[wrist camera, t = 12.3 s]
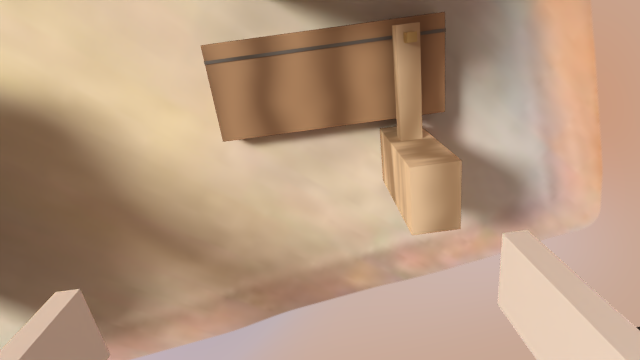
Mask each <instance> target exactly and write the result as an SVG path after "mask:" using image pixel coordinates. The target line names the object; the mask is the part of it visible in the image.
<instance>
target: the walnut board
mask: <svg viewBox="0 0 640 360" xmlns="http://www.w3.org/2000/svg"><path fill="white" fill-rule="evenodd" d="M416 22H420V49H421V93H422V115H425V114H432V113H439V112H445V12H441V13H433V14H425V15H418V16H411V17H404V18H396V19H389V20H382V21H375V22H367V23H360V24H353V25H346V26H338V27H331V28H324V29H317V30H309V31H302V32H295V33H288V34H280V35H273V36H266V37H259V38H251V39H244V40H237V41H230V42H222V43H215V44H208V45H202V46H201V49H202V54H203V58H204V63H205V66H206V71H207V75H208V79H209V83H210V88H211V92H212V96H213V100H214V105H215V109H216V113H217V117H218V122H219V126H220V130H221V134H222V139H223V142H225V141H232V140H240V139H247V138H254V137H262V136H269V135H277V134H284V133H291V132H299V131H306V130H314V129H321V128H328V127H336V126H343V125H351V124H358V123H365V122H373V121H380V120H388V119H395V118H396V99H395V78H394V58H393V38H392V26H393V25H401V24H408V23H416Z"/></svg>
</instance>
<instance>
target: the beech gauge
mask: <svg viewBox="0 0 640 360" xmlns="http://www.w3.org/2000/svg"><path fill="white" fill-rule="evenodd" d="M392 38H393V58H394V78H395V99H396V119H397V126H394V127H387V128H380V140H381V154H382V169H383V181H384V183H385V185H386V186H387V188H388V190H389V192H390V194H391V196H392V198H393V200H394V202H395V204H396V205H397V207H398V209H399V211H400V213H401V215H402V217H403V219H404V221H405V223H406V224H407V226H408V228H409V230H410V232H411V234H412V235H418V234H426V233H433V232H441V231H448V230H456V229H461V180H462V160H461V159H459V158H458V157H457V156H456V155H455V154H453V153H452V152H451V151H450V150H449V149H447V148H446V147H445V146H444V145H443V144H441V143H440V142H439V141H438V140H437V139H435V138H434V137H433V136H432V135H431V134H429V133H428V132H427V131H426V130H425V129H423V128H422V93H421V49H420V22H416V23H408V24H401V25H393V26H392Z"/></svg>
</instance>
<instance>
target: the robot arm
mask: <svg viewBox="0 0 640 360" xmlns="http://www.w3.org/2000/svg"><path fill="white" fill-rule="evenodd" d="M498 306H499V307H500V308H501V310H502V311H503V313H504V314H505V316H506V317H507V318H508V320H509V321H510V323H511V324H512V326H513V327H514V328H515V330H516V331H517V333H518V334H519V336H520V337H521V338H522V340H523V341H524V342H525V344H526V345H527V347H528V348H529V350H530V351H531V353H532V354H533V355H534V357H535V358H536V360H640V327H635V326H634V325H633V324H632V323H631V322H630V321H628V320H627V319H626V318H625V317H624V316H623V315H622V314H621V313H620V312H618V311H617V310H616V309H615V308H614V307H613V306H612V305H611V304H610V303H608V302H607V301H606V300H605V299H604V298H603V297H602V296H601V295H600V294H598V293H597V292H596V291H595V290H594V289H593V288H592V287H591V286H589V285H588V284H587V283H586V282H585V281H584V280H583V279H582V278H581V277H579V276H578V275H577V274H576V273H575V272H574V271H573V270H572V269H570V268H569V267H568V266H567V265H566V264H565V263H564V262H563V261H562V260H560V259H559V258H558V257H557V256H556V255H555V254H554V253H553V252H552V251H550V250H549V249H548V248H547V247H546V246H545V245H544V244H543V243H542V242H540V241H539V240H538V239H537V238H536V237H535V236H534V235H533V234H532V233H530V232H529V231H528V230H522V231H514V232H507V233H502V246H501V262H500V276H499V290H498ZM109 356H110V353H109V351H108V348H107V346H106V344H105V342H104V340H103V338H102V335H101V333H100V331H99V329H98V327H97V325H96V322H95V320H94V318H93V316H92V314H91V312H90V309H89V307H88V305H87V303H86V301H85V299H84V296H83V294H82V292H81V290H80V289H74V290H66V291H59V292H55V293H54V294H53V295H52V296H51V297H50V298H49V299H48V300H47V302H46V303H45V304H44V305H43V306H42V307H41V308H40V309H39V310H38V311H37V312H36V313H35V314H34V315H33V316H32V317H31V319H30V320H29V321H28V322H27V323H26V324H25V325H24V326H23V327H22V328H21V329H20V330H19V331H18V332H17V333H16V334H15V336H14V337H13V338H12V339H11V340H10V341H9V342H8V343H7V344H6V345H5V346H4V347H3V348H2V349H1V350H0V360H107V359H108V358H109Z"/></svg>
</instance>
